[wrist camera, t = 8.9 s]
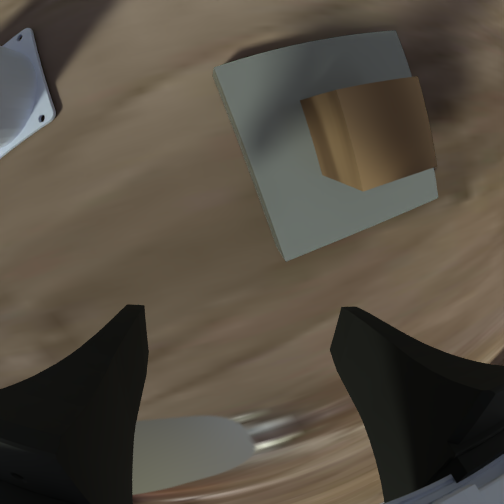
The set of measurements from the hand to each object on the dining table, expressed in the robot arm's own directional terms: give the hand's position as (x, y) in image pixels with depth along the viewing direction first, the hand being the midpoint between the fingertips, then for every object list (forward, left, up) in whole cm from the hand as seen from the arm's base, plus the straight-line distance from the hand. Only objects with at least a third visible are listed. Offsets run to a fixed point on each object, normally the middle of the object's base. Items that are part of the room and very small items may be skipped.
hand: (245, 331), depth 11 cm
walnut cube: (+9, +4, -8) cm, 13 cm away
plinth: (+9, +4, -10) cm, 14 cm away
